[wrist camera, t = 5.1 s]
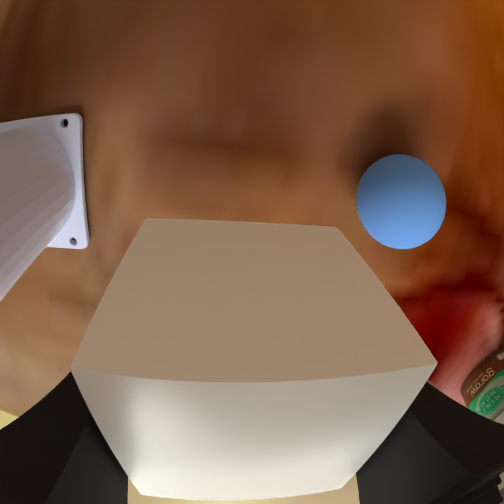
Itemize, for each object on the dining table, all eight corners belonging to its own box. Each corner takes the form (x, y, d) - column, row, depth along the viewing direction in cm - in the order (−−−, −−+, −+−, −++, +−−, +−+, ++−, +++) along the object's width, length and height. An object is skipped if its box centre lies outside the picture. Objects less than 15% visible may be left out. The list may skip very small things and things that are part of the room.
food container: (489, 339, 27) (533, 400, 18) (512, 337, 28) (551, 390, 19) (436, 406, 32) (464, 463, 24) (463, 400, 34) (490, 451, 25)
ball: (334, 221, 18) (368, 264, 14) (351, 138, 16) (396, 158, 11) (403, 228, 19) (445, 268, 14) (422, 155, 16) (474, 179, 12)
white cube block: (159, 358, 13) (141, 494, 7) (145, 218, 10) (70, 368, 4) (304, 359, 13) (340, 488, 8) (337, 227, 10) (437, 362, 5)
